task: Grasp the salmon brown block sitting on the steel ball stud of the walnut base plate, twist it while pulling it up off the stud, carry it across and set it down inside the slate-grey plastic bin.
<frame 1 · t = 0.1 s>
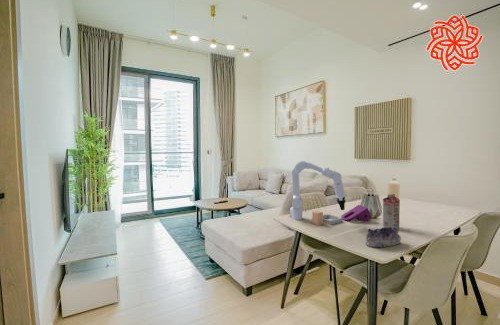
hand: (342, 208, 164), 11 cm above the table, fingers open, 7 cm apart
stud plate: (317, 224, 163), on the table
salmon brown block: (317, 223, 163), point 1 cm above the table, touching stud plate
bin: (328, 222, 168), on the table
geode: (382, 244, 129), on the table
mounting bracket: (354, 220, 171), on the table
juice carton: (390, 227, 154), on the table
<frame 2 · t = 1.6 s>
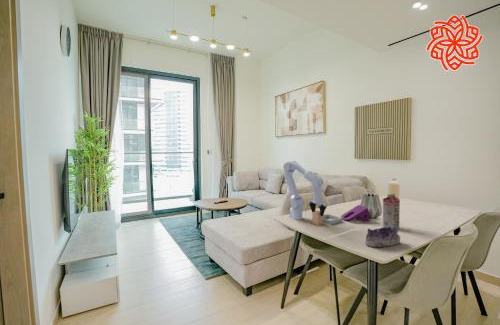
hand: (317, 214, 162), 7 cm above the table, fingers open, 7 cm apart
nothing on the table moved.
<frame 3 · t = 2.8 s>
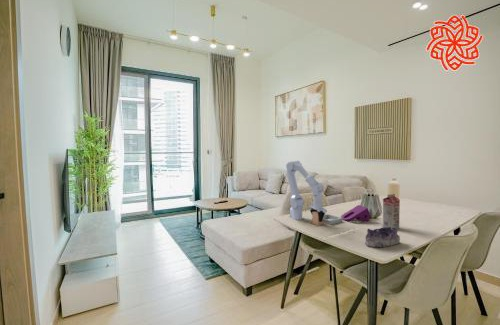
hand: (317, 220, 163), 3 cm above the table, fingers closed on salmon brown block, 5 cm apart
salmon brown block: (317, 223, 163), point 1 cm above the table, touching gripper, stud plate
everything else where it was.
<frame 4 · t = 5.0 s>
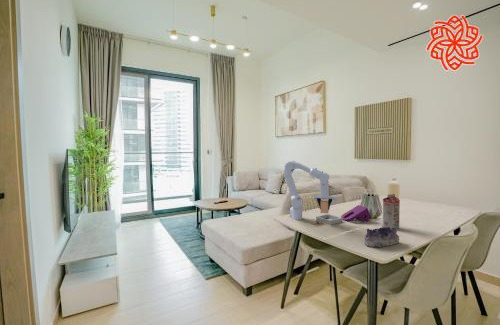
hand: (324, 209, 166), 10 cm above the table, fingers closed on salmon brown block, 5 cm apart
salmon brown block: (324, 212, 166), point 8 cm above the table, touching gripper
everything else where it was.
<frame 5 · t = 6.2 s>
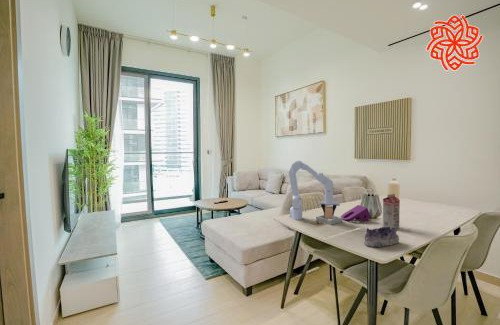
hand: (328, 215, 168), 5 cm above the table, fingers closed on salmon brown block, 5 cm apart
salmon brown block: (328, 217, 168), point 3 cm above the table, touching gripper
everything else where it was.
when the fingers open (5 cm above the table, at t = 7.1 s): salmon brown block drops 2 cm, resting on bin.
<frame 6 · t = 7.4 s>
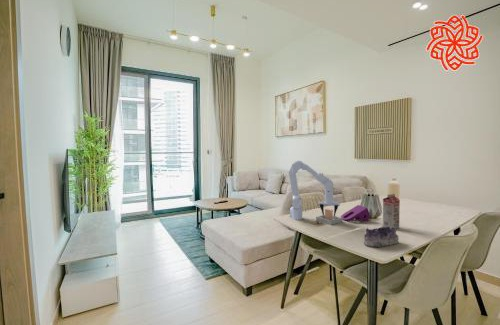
hand: (328, 215, 168), 5 cm above the table, fingers open, 7 cm apart
salmon brown block: (328, 221, 168), point 1 cm above the table, touching bin
everything else where it was.
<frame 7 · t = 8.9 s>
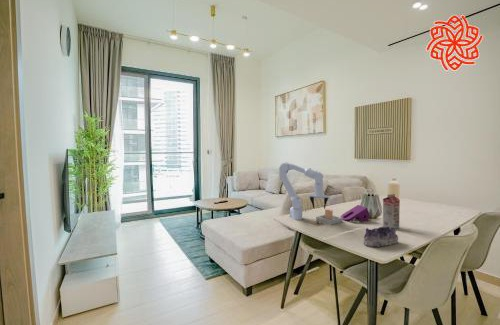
hand: (319, 207, 170), 10 cm above the table, fingers open, 7 cm apart
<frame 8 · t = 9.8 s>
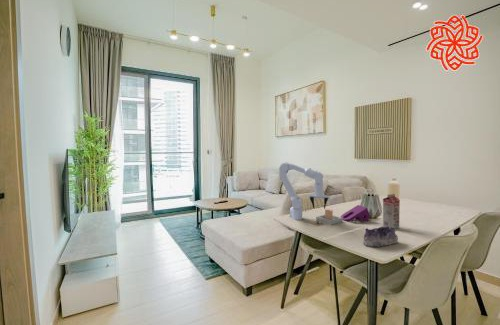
hand: (319, 207, 170), 10 cm above the table, fingers open, 7 cm apart
at the end: salmon brown block inside the target area on the bin (0.1 cm from its centre), point 0.8 cm above the bin's base; the gripper is holding nothing; salmon brown block moved 11.0 cm from its start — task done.
